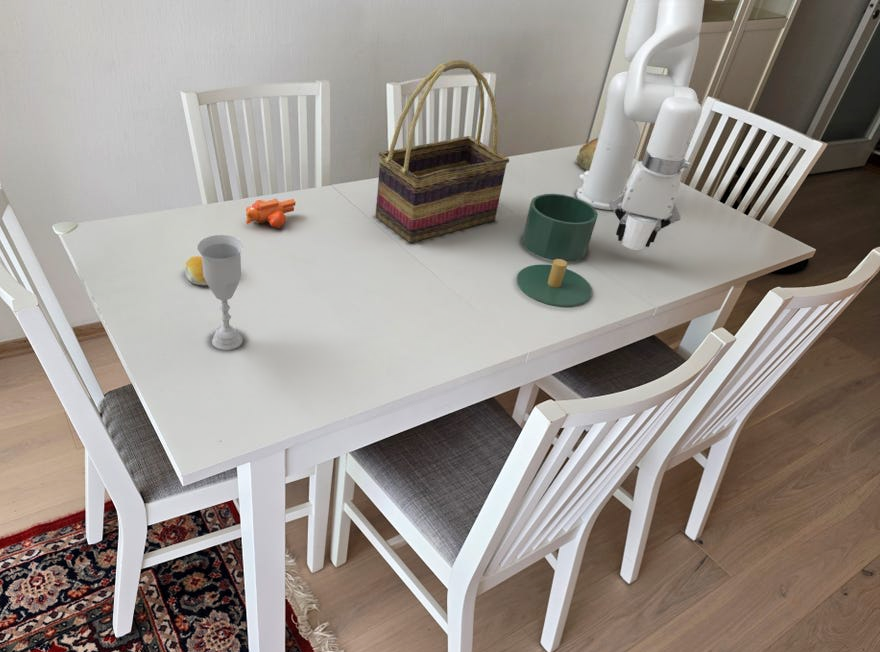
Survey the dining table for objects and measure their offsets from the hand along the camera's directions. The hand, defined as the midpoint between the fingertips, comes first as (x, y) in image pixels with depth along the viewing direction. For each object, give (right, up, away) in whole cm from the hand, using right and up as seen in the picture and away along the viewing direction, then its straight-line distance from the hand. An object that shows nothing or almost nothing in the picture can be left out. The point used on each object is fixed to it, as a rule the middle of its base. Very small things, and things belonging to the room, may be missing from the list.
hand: (633, 240), depth 148 cm
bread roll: (-87, -10, -18) cm, 90 cm away
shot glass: (0, -1, +1) cm, 1 cm away
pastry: (+5, +28, +45) cm, 53 cm away
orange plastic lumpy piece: (-79, +4, +1) cm, 79 cm away
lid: (-20, -11, -10) cm, 24 cm away
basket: (-43, +6, +10) cm, 44 cm away
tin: (-16, -1, +5) cm, 17 cm away
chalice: (-80, -23, -33) cm, 90 cm away
